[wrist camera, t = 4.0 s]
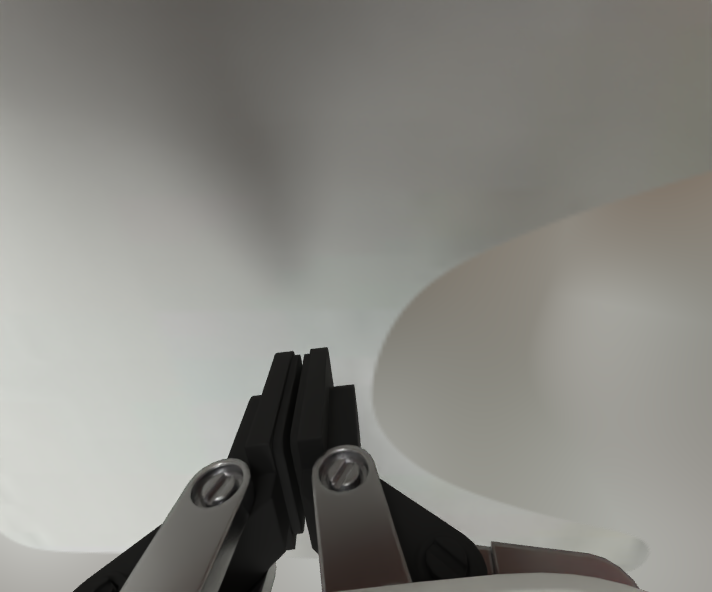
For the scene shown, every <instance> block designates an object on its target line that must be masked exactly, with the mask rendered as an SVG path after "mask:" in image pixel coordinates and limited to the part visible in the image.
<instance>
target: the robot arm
mask: <svg viewBox="0 0 712 592" xmlns="http://www.w3.org/2000/svg"><path fill="white" fill-rule="evenodd" d="M305 518H306V522H307V527H308V531H309V535H310V540H311V544H312V548H313V549H314V550H315V551H316V552H317V553H318V554H319V563H320V573H321V584H322V592H647V591H644V590H641V589H639V588H638V586H637V584H636V583H635V581H634V580H633V579H632V578H631V577H630V576H629V575H627V574H626V573H625V572H624V571H623V570H622V569H621V568H620V567H619V566H617V565H615V564H614V563H612V562H610V561H608V560H607V559H605V558H603V557H599V556H596V555H592V554H589V553H581V552H573V551H565V550H557V549H549V548H540V547H532V546H524V545H516V544H508V543H500V542H492V541H491V547H487V546H479V545H475V544H474V543H473V542H472V541H471V540H470V539H468V538H467V537H466V536H465V535H464V534H462V533H461V532H459V531H458V530H456V529H455V528H453V527H452V526H450V525H449V524H447V523H446V522H444V521H443V520H441V519H440V518H438V517H437V516H435V515H434V514H432V513H431V512H429V511H428V510H426V509H425V508H423V507H422V506H420V505H419V504H417V503H416V502H414V501H413V500H411V499H410V498H408V497H407V496H405V495H404V494H402V493H401V492H399V491H398V490H396V489H395V488H393V487H392V486H390V485H389V484H387V483H386V482H384V481H383V480H381V479H380V478H379V476H378V473H377V469H376V466H375V463H374V461H373V459H372V457H371V455H370V454H369V453H368V452H367V451H366V450H364V449H362V448H361V444H360V433H359V422H358V412H357V404H356V395H355V387H354V384H353V385H345V386H336V387H334V385H333V379H332V372H331V365H330V358H329V352H328V348H327V347H325V348H316V349H311V350H310V354H305V355H304V360H303V365H302V360H301V356H300V355H295V354H294V352H293V351H290V352H281V353H276V354H275V356H274V359H273V362H272V365H271V368H270V371H269V374H268V377H267V380H266V383H265V386H264V389H263V392H262V395H257V396H252V397H251V398H250V400H249V403H248V405H247V408H246V411H245V413H244V416H243V419H242V421H241V424H240V427H239V429H238V432H237V434H236V437H235V440H234V442H233V445H232V448H231V450H230V453H229V456H228V458H227V459H222V460H219V461H216V462H213V463H211V464H210V465H208V466H206V467H204V468H203V469H202V470H200V471H199V472H198V473H197V474H196V475H194V477H193V478H192V479H191V480H190V482H189V483H188V484H187V486H186V487H185V489H184V491H183V492H182V494H181V495H180V497H179V498H178V500H177V502H176V503H175V505H174V506H173V508H172V510H171V511H170V513H169V514H168V516H167V517H166V519H165V521H164V522H163V524H161V525H160V526H159V527H157V528H156V529H155V530H153V531H152V532H150V533H149V534H148V535H146V536H145V537H144V538H142V539H141V540H140V541H138V542H137V543H136V544H134V545H133V546H132V547H130V548H129V549H128V550H126V551H125V552H123V553H122V554H121V555H119V556H118V557H117V558H115V559H114V560H113V561H111V562H110V563H109V564H107V565H106V566H105V567H103V568H102V569H101V570H99V571H98V572H97V573H95V574H94V575H93V576H91V577H90V578H88V579H87V580H86V581H85V582H83V583H82V584H81V585H80V586H79V587H78V588H76V589H75V590H74V591H73V592H271V589H272V586H273V582H274V578H275V573H276V561H277V560H278V559H279V558H280V557H281V556H282V555H283V554H284V553H285V552H286V550H292V549H295V545H296V536H297V534H300V533H303V531H304V524H305Z"/></svg>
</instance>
